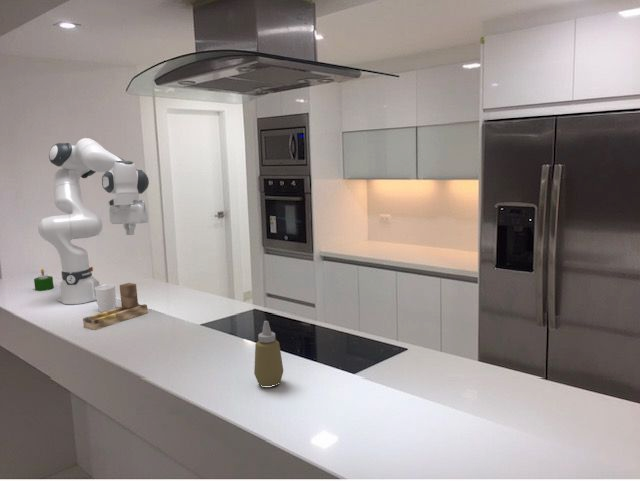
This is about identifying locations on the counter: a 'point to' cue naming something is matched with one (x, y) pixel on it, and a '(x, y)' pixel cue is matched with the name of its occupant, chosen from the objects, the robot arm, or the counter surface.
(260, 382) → the squeeze bottle
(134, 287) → the plate
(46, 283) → the candle
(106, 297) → the white cup
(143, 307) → the beam
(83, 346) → the counter surface
